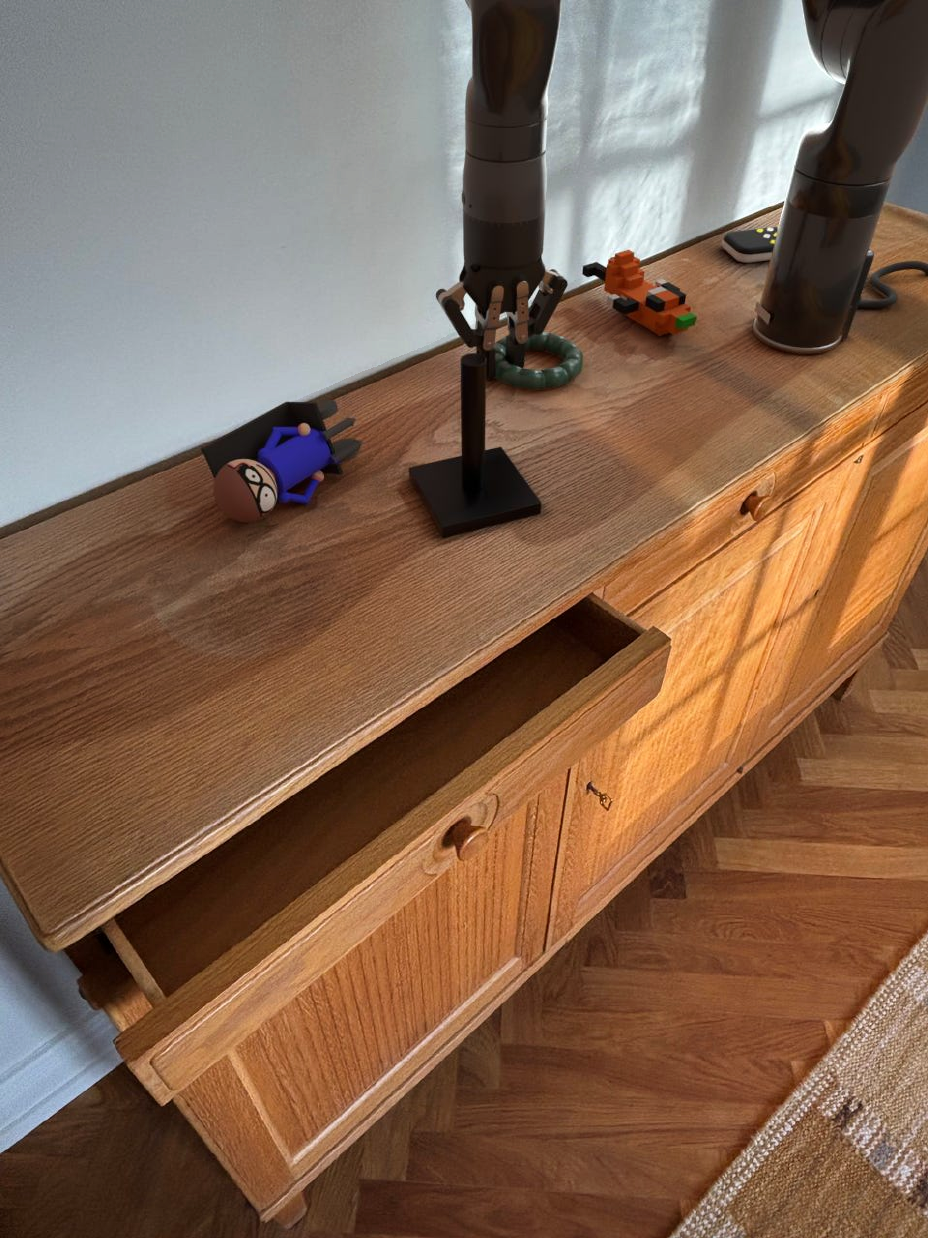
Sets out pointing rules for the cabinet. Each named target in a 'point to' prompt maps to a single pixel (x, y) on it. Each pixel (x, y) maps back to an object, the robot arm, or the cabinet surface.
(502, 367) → the ring
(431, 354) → the cabinet surface
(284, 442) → the character figurine
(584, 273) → the toy
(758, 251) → the remote control
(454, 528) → the post
